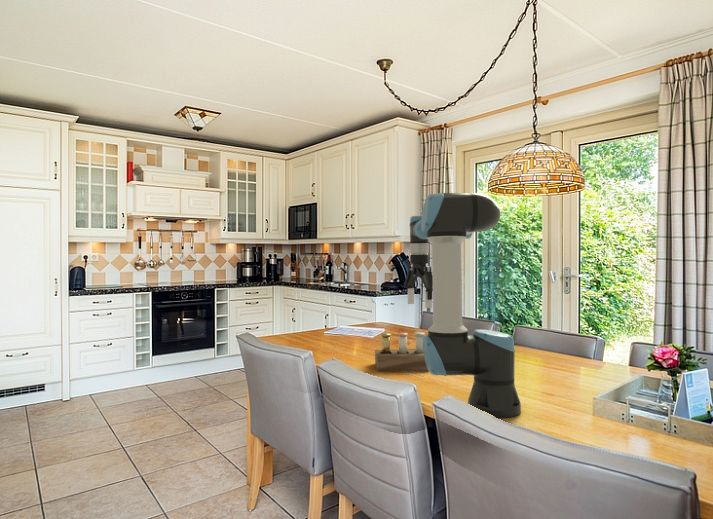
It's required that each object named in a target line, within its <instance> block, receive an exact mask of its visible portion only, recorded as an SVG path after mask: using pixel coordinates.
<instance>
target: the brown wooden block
mask: <svg viewBox="0 0 713 519" xmlns="http://www.w3.org/2000/svg"><path fill="white" fill-rule="evenodd" d="M374 364H375V367H376V372H401V371H402V372H405V371H406V372H407V371H409V372H412V371H415V372H417V371H429V370H428V368H427V366H426V362H425V358H424V353H416V348H409V349H408V348H407V354H399V348H397V349H396V348H394V349H392V348H391V349H390V354H382V349H375V350H374Z"/></svg>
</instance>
